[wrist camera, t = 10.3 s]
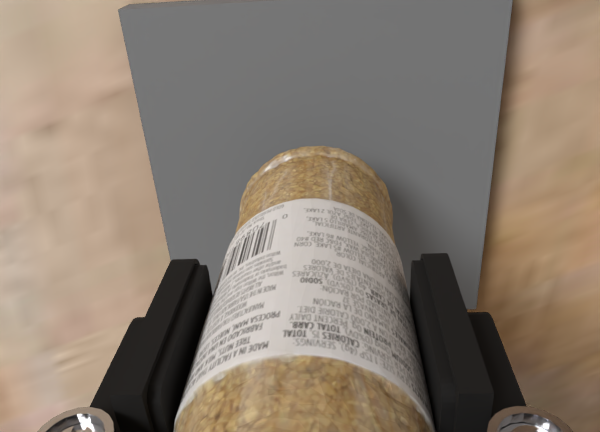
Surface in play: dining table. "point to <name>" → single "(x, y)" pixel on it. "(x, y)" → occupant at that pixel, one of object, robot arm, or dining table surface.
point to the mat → (323, 110)
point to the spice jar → (309, 310)
